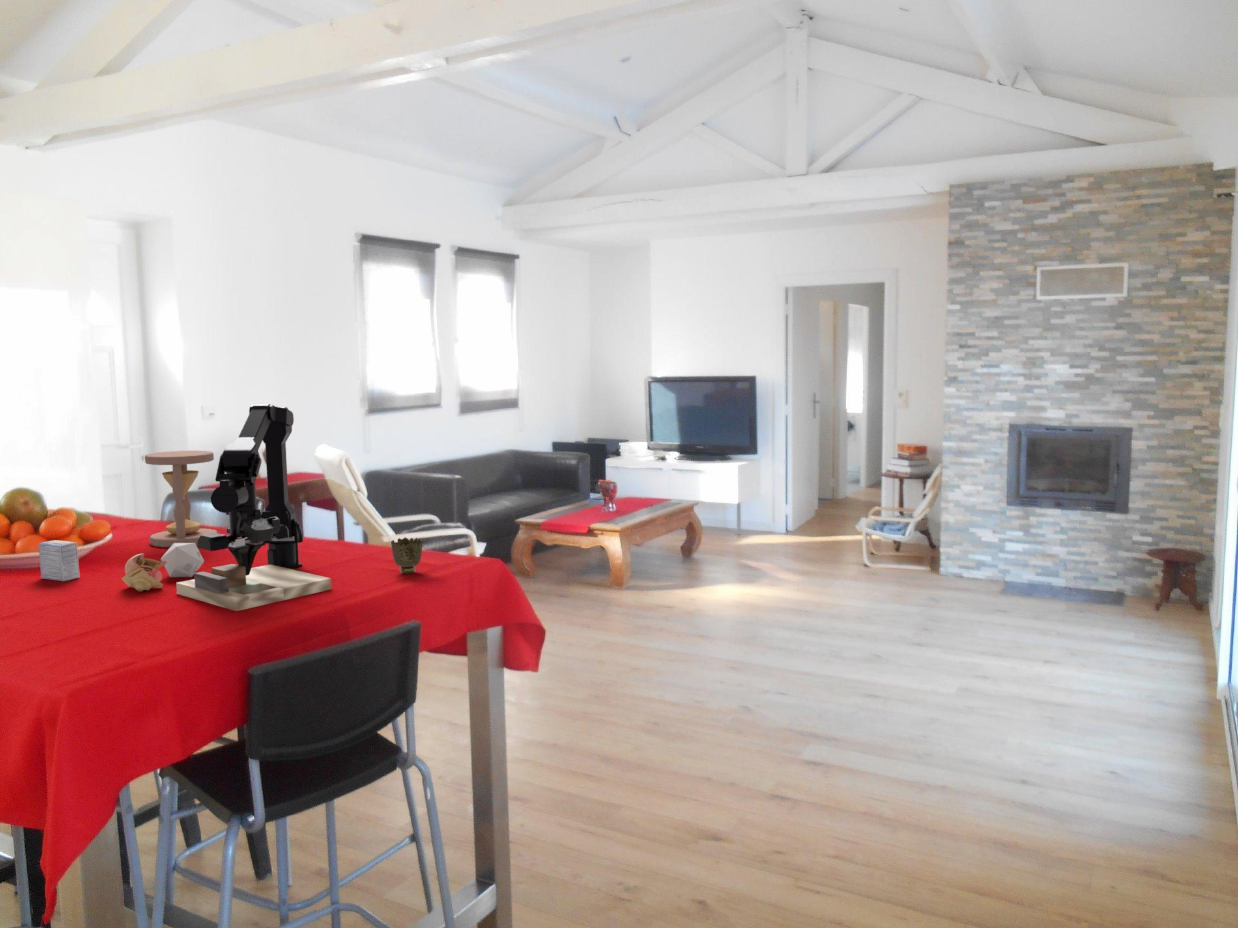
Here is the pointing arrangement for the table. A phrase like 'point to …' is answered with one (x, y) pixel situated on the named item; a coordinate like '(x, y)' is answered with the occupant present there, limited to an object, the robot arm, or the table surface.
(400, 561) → the cup
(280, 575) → the board
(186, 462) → the hourglass
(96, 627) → the table surface
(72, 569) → the stool softener box
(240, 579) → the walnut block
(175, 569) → the die
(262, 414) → the robot arm
